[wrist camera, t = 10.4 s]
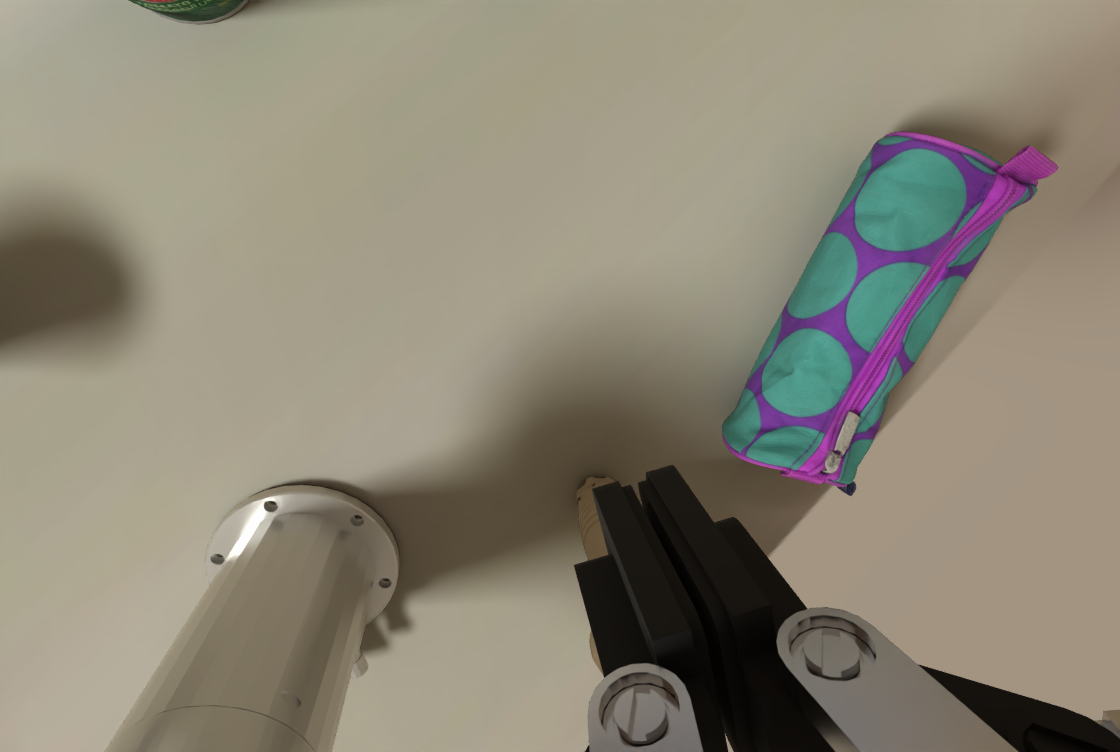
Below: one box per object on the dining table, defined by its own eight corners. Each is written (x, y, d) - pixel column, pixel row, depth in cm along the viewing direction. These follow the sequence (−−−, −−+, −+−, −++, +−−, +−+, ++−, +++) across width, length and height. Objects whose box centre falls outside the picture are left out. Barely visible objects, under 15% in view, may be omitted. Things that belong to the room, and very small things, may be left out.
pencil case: (799, 451, 43) (882, 527, 34) (697, 417, 41) (757, 489, 32) (955, 177, 37) (1104, 183, 28) (845, 121, 35) (969, 108, 26)
